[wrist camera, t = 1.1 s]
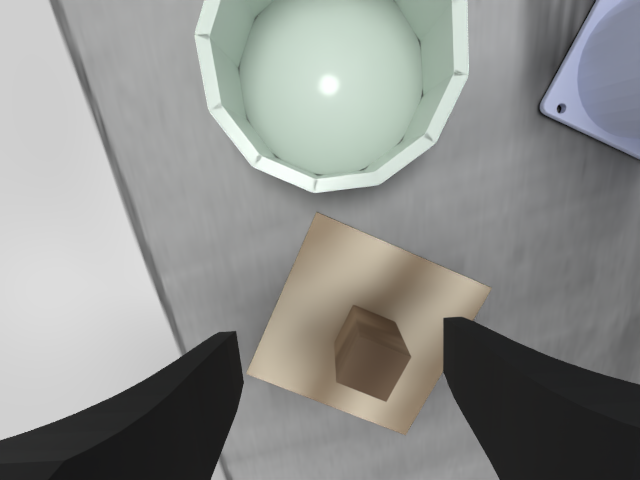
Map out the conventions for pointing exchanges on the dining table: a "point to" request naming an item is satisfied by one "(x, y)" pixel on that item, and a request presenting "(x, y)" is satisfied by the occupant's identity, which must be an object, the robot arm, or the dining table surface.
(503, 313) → the dining table surface
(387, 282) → the birch lid
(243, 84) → the celadon bowl
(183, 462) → the robot arm
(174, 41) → the dining table surface
